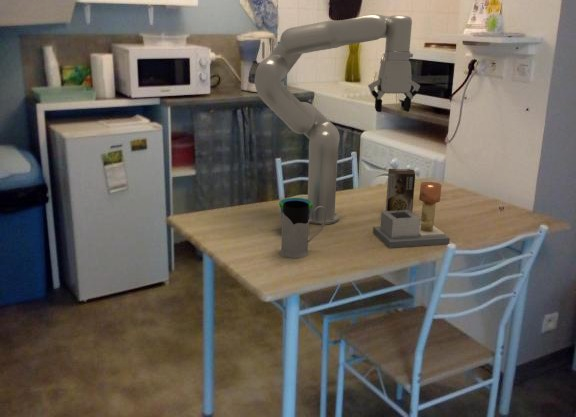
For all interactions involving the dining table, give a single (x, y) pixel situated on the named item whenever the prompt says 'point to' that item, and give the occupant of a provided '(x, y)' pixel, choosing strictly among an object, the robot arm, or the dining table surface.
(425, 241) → the charcoal board
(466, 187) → the dining table surface
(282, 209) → the snack cup
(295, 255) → the glass holder
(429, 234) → the cream pad
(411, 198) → the coffee box
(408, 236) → the grey hollow socket block
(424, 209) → the copper headed peg
